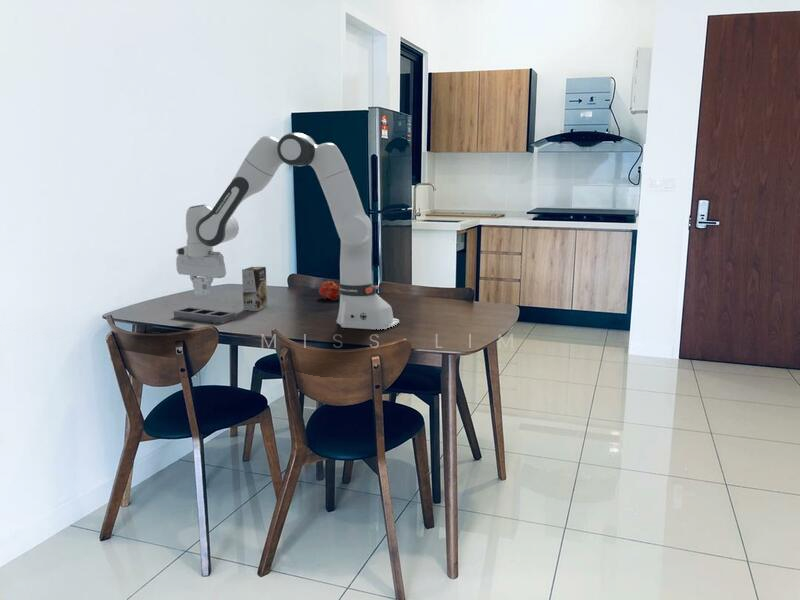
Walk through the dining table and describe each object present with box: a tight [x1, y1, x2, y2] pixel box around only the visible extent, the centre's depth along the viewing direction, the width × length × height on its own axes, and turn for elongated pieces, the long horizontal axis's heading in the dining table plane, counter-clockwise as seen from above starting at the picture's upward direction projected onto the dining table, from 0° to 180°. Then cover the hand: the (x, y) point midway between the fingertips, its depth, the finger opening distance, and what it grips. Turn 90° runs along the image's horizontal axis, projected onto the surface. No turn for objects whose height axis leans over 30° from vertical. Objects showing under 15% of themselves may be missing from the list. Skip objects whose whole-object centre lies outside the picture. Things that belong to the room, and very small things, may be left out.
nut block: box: [193, 276, 211, 296], centre depth 231 cm, size 4×4×6 cm
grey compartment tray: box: [173, 306, 237, 324], centre depth 233 cm, size 22×8×2 cm, turn 64°
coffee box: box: [241, 266, 268, 312], centre depth 249 cm, size 9×6×16 cm
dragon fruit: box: [317, 280, 340, 301], centre depth 268 cm, size 8×8×12 cm
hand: (202, 288), depth 231 cm, fingers closed on nut block, 4 cm apart
